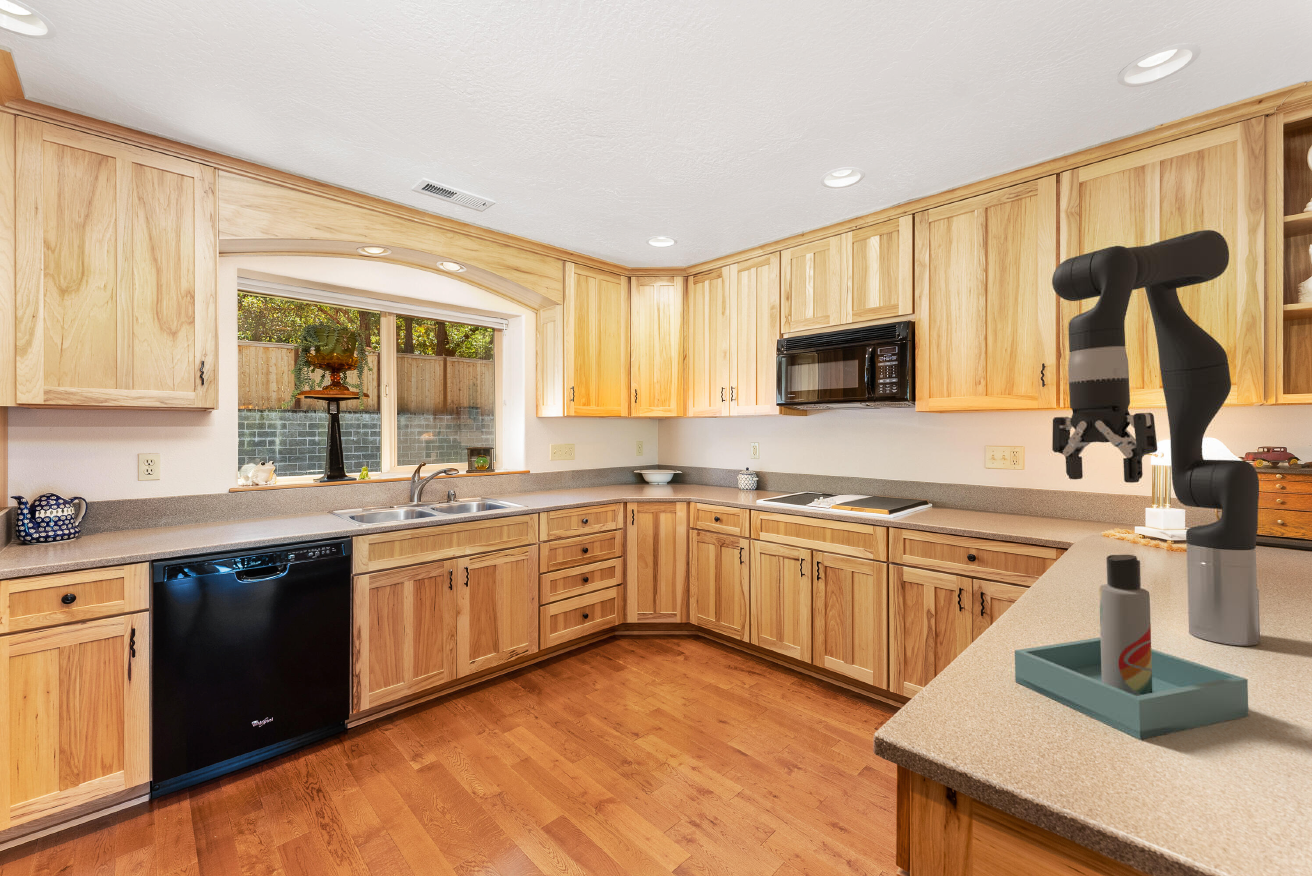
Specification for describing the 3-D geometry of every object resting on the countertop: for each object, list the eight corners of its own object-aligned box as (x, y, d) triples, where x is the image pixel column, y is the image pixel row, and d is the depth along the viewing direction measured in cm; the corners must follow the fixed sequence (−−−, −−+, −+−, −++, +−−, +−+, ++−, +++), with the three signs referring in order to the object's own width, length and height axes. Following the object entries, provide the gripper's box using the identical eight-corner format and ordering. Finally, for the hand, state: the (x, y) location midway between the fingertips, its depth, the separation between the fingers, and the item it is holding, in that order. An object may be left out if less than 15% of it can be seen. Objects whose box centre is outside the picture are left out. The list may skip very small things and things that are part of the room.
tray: (1110, 665, 94) (1109, 635, 94) (1248, 715, 77) (1247, 678, 77) (1015, 681, 89) (1014, 650, 89) (1140, 739, 71) (1139, 700, 72)
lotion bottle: (1162, 702, 79) (1158, 559, 79) (1115, 699, 80) (1111, 558, 80) (1137, 684, 85) (1133, 551, 85) (1093, 682, 86) (1090, 551, 86)
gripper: (1166, 372, 84) (1171, 482, 84) (1071, 382, 97) (1075, 476, 97) (1129, 373, 81) (1134, 485, 81) (1037, 383, 95) (1042, 479, 95)
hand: (1102, 480), depth 89 cm, fingers open, 8 cm apart
